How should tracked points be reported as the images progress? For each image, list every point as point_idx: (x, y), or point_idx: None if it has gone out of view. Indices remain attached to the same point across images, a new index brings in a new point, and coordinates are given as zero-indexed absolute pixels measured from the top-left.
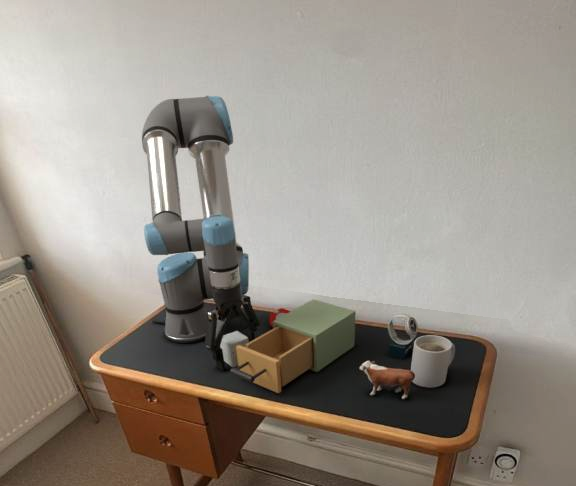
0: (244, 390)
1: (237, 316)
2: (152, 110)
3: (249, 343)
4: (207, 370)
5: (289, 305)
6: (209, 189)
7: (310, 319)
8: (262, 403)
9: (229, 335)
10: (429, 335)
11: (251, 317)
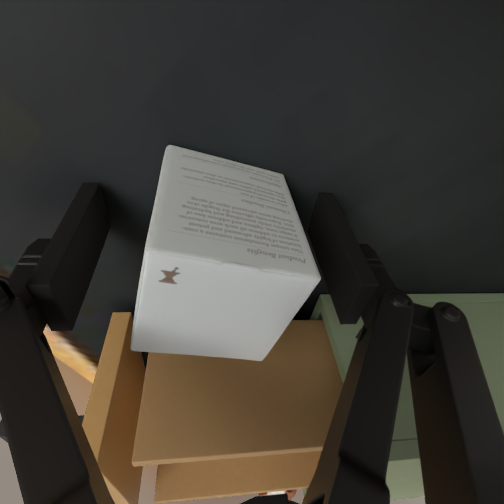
0: (86, 335)
1: (331, 456)
2: None
3: (151, 464)
4: (25, 146)
5: None
6: None
7: (419, 484)
8: (89, 380)
9: (221, 292)
10: None
11: (422, 401)
